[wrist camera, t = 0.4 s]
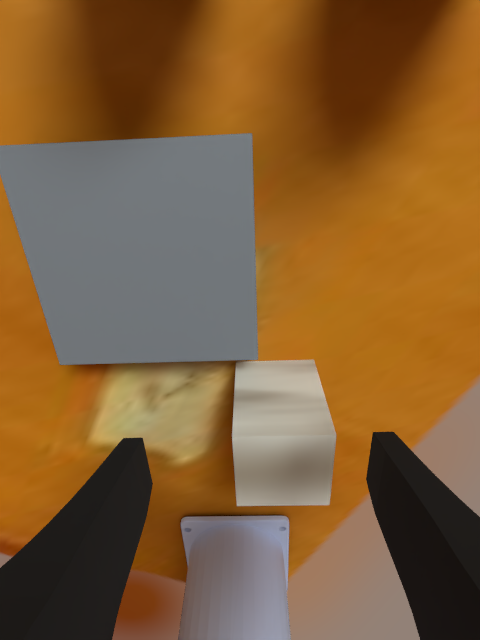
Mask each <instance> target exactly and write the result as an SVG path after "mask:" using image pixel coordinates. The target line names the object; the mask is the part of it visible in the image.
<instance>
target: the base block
mask: <svg viewBox="0 0 480 640" xmlns="http://www.w3.org/2000/svg"><path fill="white" fill-rule="evenodd" d="M0 175H1V178H2V181H3V184H4V188H5V191H6V194H7V197H8V200H9V204H10V207H11V210H12V213H13V216H14V219H15V223H16V226H17V229H18V232H19V235H20V239H21V242H22V245H23V248H24V251H25V255H26V258H27V261H28V264H29V267H30V270H31V274H32V277H33V280H34V283H35V286H36V290H37V293H38V296H39V299H40V302H41V306H42V309H43V312H44V315H45V318H46V322H47V325H48V328H49V331H50V334H51V337H52V341H53V344H54V347H55V350H56V353H57V357H58V360H59V363H60V365H75V364H114V363H152V362H191V361H229V360H258V342H257V303H256V264H255V226H254V187H253V148H252V133H248V134H228V135H208V136H188V137H167V138H147V139H127V140H107V141H86V142H66V143H46V144H26V145H5V146H0Z"/></svg>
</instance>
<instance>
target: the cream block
mask: <svg viewBox="0 0 480 640" xmlns="http://www.w3.org/2000/svg"><path fill="white" fill-rule="evenodd" d="M335 443H336V432H335V429H334V426H333V422H332V419H331V415H330V412H329V409H328V405H327V402H326V399H325V395H324V392H323V389H322V385H321V382H320V378H319V375H318V372H317V368H316V365H315V362H314V360H283V361H245V362H236V371H235V389H234V408H233V426H232V445H233V459H234V474H235V488H236V502H237V506H288V505H329V504H330V494H331V484H332V474H333V464H334V453H335Z"/></svg>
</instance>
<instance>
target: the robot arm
mask: <svg viewBox="0 0 480 640" xmlns="http://www.w3.org/2000/svg"><path fill="white" fill-rule="evenodd" d="M366 480H367V484H368V488H369V492H370V496H371V500H372V504H373V508H374V511H375V514H376V517H377V520H378V523H379V525H380V528H381V530H382V533H383V536H384V538H385V541H386V543H387V546H388V549H389V551H390V554H391V557H392V559H393V562H394V564H395V567H396V569H397V572H398V575H399V577H400V580H401V582H402V585H403V588H404V590H405V593H406V596H407V599H408V601H409V604H410V607H411V610H412V613H413V616H414V620H415V623H416V626H417V630H418V633H419V637H420V640H480V517H479V516H478V515H477V514H476V513H474V512H473V511H472V510H471V509H470V508H469V507H468V506H467V505H466V504H465V503H463V502H462V501H461V500H460V499H459V498H458V497H457V496H456V495H455V494H454V493H453V492H452V491H451V490H450V489H449V488H448V487H447V486H446V485H445V484H444V483H443V482H442V481H440V479H439V478H437V477H436V476H435V475H434V474H433V473H432V472H431V470H429V469H428V468H427V466H426V465H425V464H423V462H422V461H421V460H420V459H419V458H418V457H417V456H416V455H415V454H414V453H413V452H412V451H411V450H410V449H409V448H408V447H407V446H406V444H405V443H404V442H403V441H402V440H401V439H400V438H399V437H398V436H397V435H396V434H395V433H394V432H373V436H372V443H371V450H370V457H369V464H368V471H367V478H366ZM152 484H153V483H152V479H151V474H150V470H149V465H148V460H147V456H146V451H145V447H144V442H143V438H123V439H122V440H121V442H120V443H119V444H118V445H117V446H116V447H115V449H114V450H113V451H112V452H111V454H110V455H109V456H108V457H107V458H106V460H105V461H104V462H103V463H102V464H101V466H100V467H99V468H98V469H97V470H96V472H95V473H94V474H93V475H92V476H91V477H90V479H89V480H88V481H87V482H86V483H85V484H84V485H83V486H82V488H81V489H80V490H79V491H78V492H77V493H76V494H75V496H74V497H73V498H72V499H71V500H70V501H69V502H68V503H67V504H66V505H65V506H64V507H63V508H62V509H61V510H60V512H59V513H58V514H57V515H56V516H55V517H54V518H53V519H52V520H51V521H50V522H49V523H48V524H47V525H46V526H45V527H44V528H43V529H42V530H41V531H40V532H39V533H38V534H37V535H36V536H35V537H34V538H33V539H32V540H31V541H30V542H29V543H28V544H26V545H25V546H24V547H23V548H22V549H21V550H20V551H19V552H18V553H17V554H16V555H15V556H13V557H12V558H11V559H10V560H9V561H8V562H7V563H6V564H4V565H3V566H2V567H1V568H0V640H112V636H113V632H114V627H115V623H116V618H117V614H118V610H119V606H120V603H121V598H122V595H123V592H124V589H125V586H126V582H127V579H128V576H129V573H130V569H131V566H132V563H133V560H134V556H135V553H136V550H137V547H138V543H139V540H140V537H141V533H142V530H143V527H144V523H145V520H146V516H147V511H148V506H149V501H150V495H151V490H152ZM181 531H182V536H183V542H184V548H185V553H186V559H187V564H188V572H187V579H186V587H185V593H184V601H183V608H182V615H181V622H180V630H179V637H178V640H291V637H290V625H289V614H288V601H287V590H288V552H289V519H288V518H287V517H286V516H196V517H184V518H182V519H181Z"/></svg>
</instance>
